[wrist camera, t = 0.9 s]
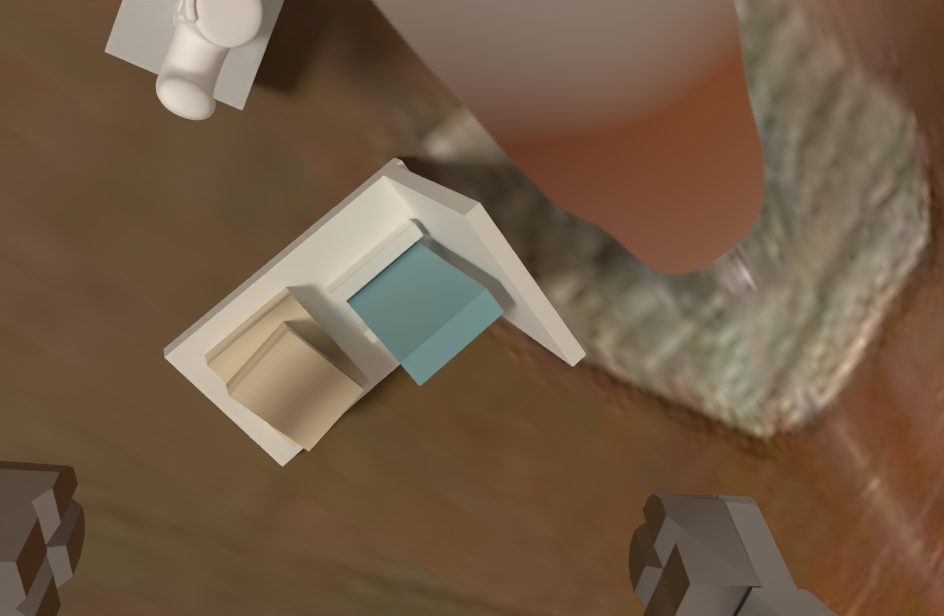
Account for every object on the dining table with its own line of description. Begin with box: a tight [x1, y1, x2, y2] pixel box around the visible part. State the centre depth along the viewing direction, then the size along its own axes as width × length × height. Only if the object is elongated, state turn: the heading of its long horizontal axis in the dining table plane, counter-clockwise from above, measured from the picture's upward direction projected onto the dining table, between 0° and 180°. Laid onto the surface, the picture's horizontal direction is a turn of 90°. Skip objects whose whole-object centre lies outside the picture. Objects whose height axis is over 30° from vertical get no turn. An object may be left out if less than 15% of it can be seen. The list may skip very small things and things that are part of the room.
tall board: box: [346, 241, 504, 386], centre depth 47 cm, size 2×6×12 cm, turn 126°
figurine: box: [105, 0, 284, 120], centre depth 38 cm, size 7×9×15 cm
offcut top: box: [226, 321, 364, 451], centre depth 49 cm, size 6×5×2 cm
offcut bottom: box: [205, 287, 369, 447], centre depth 50 cm, size 8×6×2 cm
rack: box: [164, 158, 586, 466], centre depth 46 cm, size 11×19×15 cm, turn 126°
